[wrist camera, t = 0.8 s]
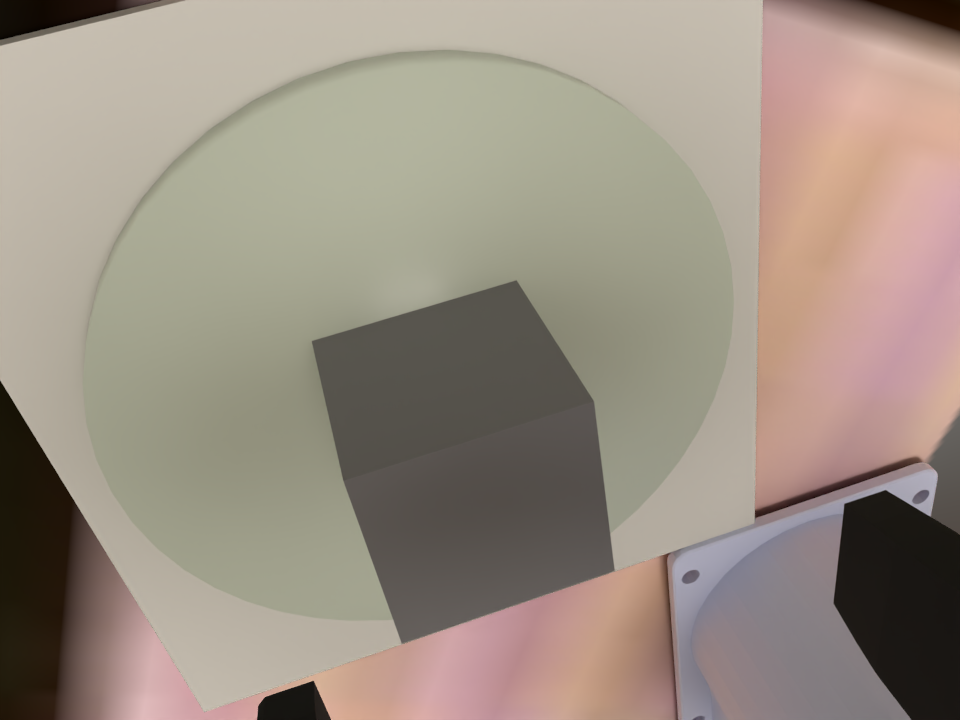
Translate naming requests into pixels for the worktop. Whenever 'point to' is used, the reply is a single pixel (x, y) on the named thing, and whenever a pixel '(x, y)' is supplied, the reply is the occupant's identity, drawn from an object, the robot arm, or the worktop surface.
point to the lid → (407, 340)
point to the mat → (252, 74)
